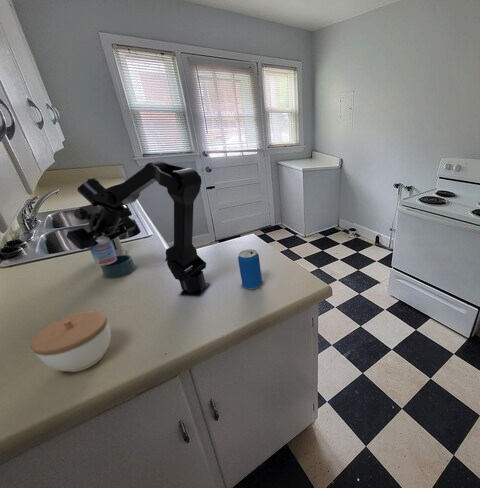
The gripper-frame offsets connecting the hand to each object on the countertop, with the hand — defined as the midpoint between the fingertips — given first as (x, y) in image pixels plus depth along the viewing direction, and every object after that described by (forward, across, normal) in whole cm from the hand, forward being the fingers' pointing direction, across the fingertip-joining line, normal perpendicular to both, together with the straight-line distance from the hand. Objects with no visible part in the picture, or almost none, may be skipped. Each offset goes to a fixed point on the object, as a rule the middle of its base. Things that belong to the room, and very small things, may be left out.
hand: (97, 244), depth 93 cm
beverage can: (-29, -7, +47) cm, 56 cm away
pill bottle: (+4, 0, +6) cm, 7 cm away
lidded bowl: (-13, +31, +32) cm, 46 cm away
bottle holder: (+8, -4, +9) cm, 13 cm away
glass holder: (+17, -11, 0) cm, 21 cm away
